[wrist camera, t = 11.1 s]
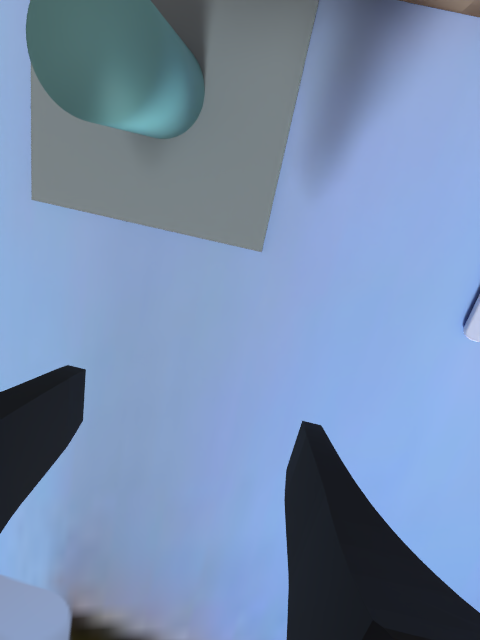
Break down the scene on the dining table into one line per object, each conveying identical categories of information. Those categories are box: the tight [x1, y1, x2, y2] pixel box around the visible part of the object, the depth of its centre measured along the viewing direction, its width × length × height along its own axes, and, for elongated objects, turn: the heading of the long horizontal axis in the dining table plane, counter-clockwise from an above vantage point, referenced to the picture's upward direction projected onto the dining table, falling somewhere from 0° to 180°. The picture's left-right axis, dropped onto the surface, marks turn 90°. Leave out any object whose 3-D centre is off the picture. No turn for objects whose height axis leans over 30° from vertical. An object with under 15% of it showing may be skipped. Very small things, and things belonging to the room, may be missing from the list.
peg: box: [26, 0, 205, 139], centre depth 14 cm, size 4×4×6 cm
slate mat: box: [30, 0, 319, 252], centre depth 17 cm, size 12×12×1 cm
